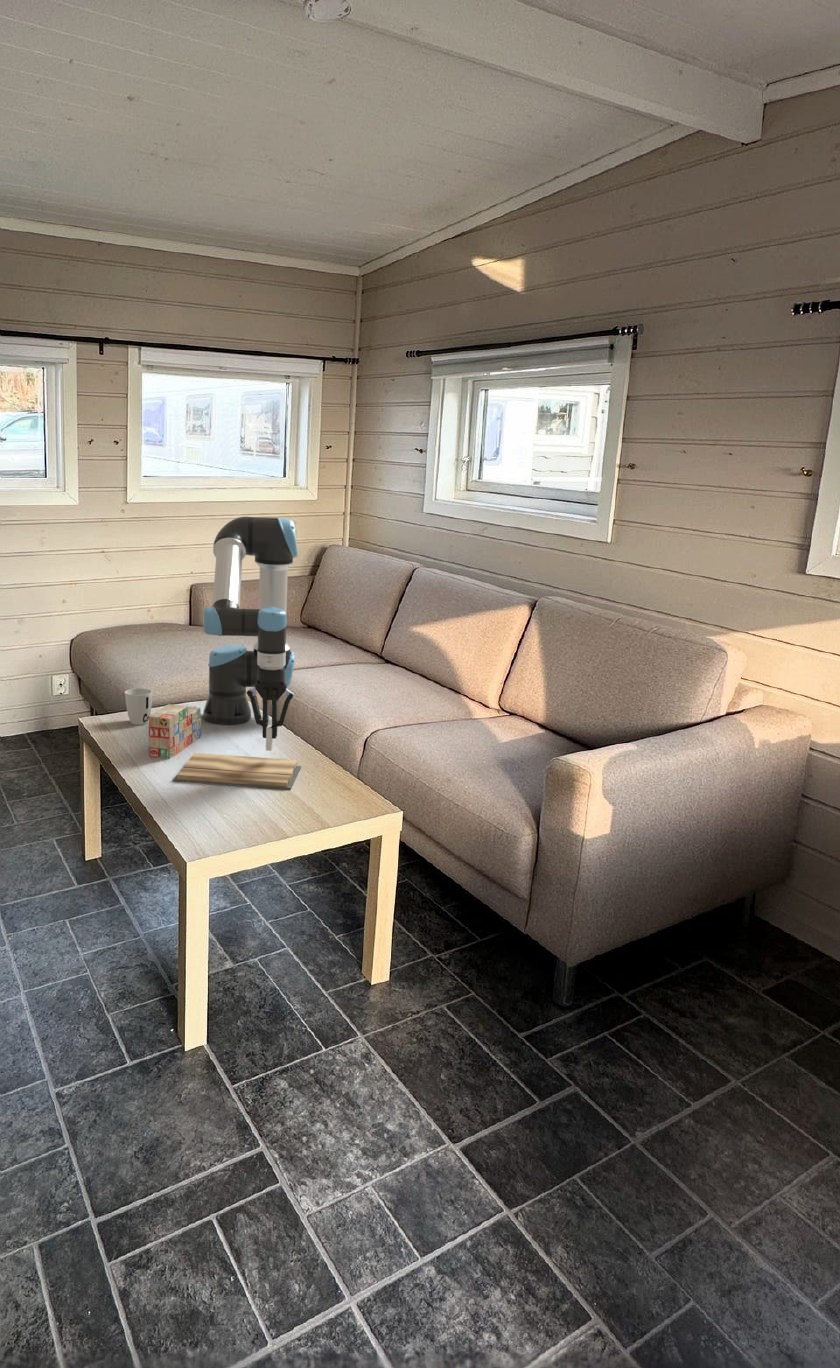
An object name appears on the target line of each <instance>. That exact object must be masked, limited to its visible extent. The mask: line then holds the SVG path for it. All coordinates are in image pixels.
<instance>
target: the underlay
mask: <svg viewBox="0 0 840 1368" xmlns="http://www.w3.org/2000/svg"><path fill="white" fill-rule="evenodd" d="M184 766H185V764H184ZM184 766H182V768H184ZM182 768H181V769H180V770H179V772H180V771H181V770H182ZM301 769H302V766H301V765H297V766H296V768H295V771H294V773H293V775H292V778H291V780H290V782H289V784H288V786H287V787H280V786H265V785H251V784H237V783H223V782H209V781H195V780H181V779H177V774H176V775H175V776H174V777H173V779H172V782H177V783H187V784H189V783H192V784H201V785H203V784H205V785H218V786H231V787H232V786H234V787H235V786H236V787H246V788H258V789H259V788H260V789H261V788H262V789H275V790H287V791H291V789H292V787H293V785H294V783H295V781H296V779H297V777H298V774H299V772H300V770H301ZM179 772H178V773H179Z"/></svg>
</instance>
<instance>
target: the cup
mask: <svg viewBox="0 0 840 1368" xmlns="http://www.w3.org/2000/svg"><path fill="white" fill-rule="evenodd" d="M124 695H125V696H124V697H125V706H126V712H127V717H128V720H129V721H130V724H131V725H134V726H143V725H147V724H149V715H151V713H152V712H151V710H152V705H153V690H152V689H149V688H141V687H139V688H138V687H136V688H129V689H127V690H124Z"/></svg>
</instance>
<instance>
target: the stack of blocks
mask: <svg viewBox="0 0 840 1368" xmlns="http://www.w3.org/2000/svg"><path fill="white" fill-rule="evenodd" d="M201 714H202V713H201V707H198V706H197V707H196V706H188V705H178V704H171V703H170V704H169V703H168V704H166V705H164V706H163V707H161V708H160V709H158V710H157V711H155V712H154V713H153V712H152V714H151V713H150V715H149V720H148V741H149V743H148V747H149V748H148V751H149V752H148V753H149V755H148V756H149V757H150V758H157V759H166V760H171V759H172V758H174V757H175V756H176V755H178V754H180V753H181V752H182V751H183V750H185V749H186V748H187V747H189V746H190V745H191V744H192V743H194V742H195V741H197V740H198V739H200V738H201V737H202V716H201Z"/></svg>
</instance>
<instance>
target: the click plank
mask: <svg viewBox="0 0 840 1368" xmlns="http://www.w3.org/2000/svg"><path fill="white" fill-rule="evenodd" d="M184 765H185V766H183V767H184V768H194V769H208V770H223V771H237V772H251V773H265V774H279V775H291V778H292V775H293V773H294V771H295V768H296V766H298V759H285V758H284V759H283V758H272V757H271V758H269V757H259V756H258V757H257V756H243V755H242V756H240V755H231V754H230V755H229V754H214V753H204V752H203V753H200V752H199V753H198V752H193V753H192V755H191V756H190V758H189V759H188V760H187V762H186V763H185V764H184Z"/></svg>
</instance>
